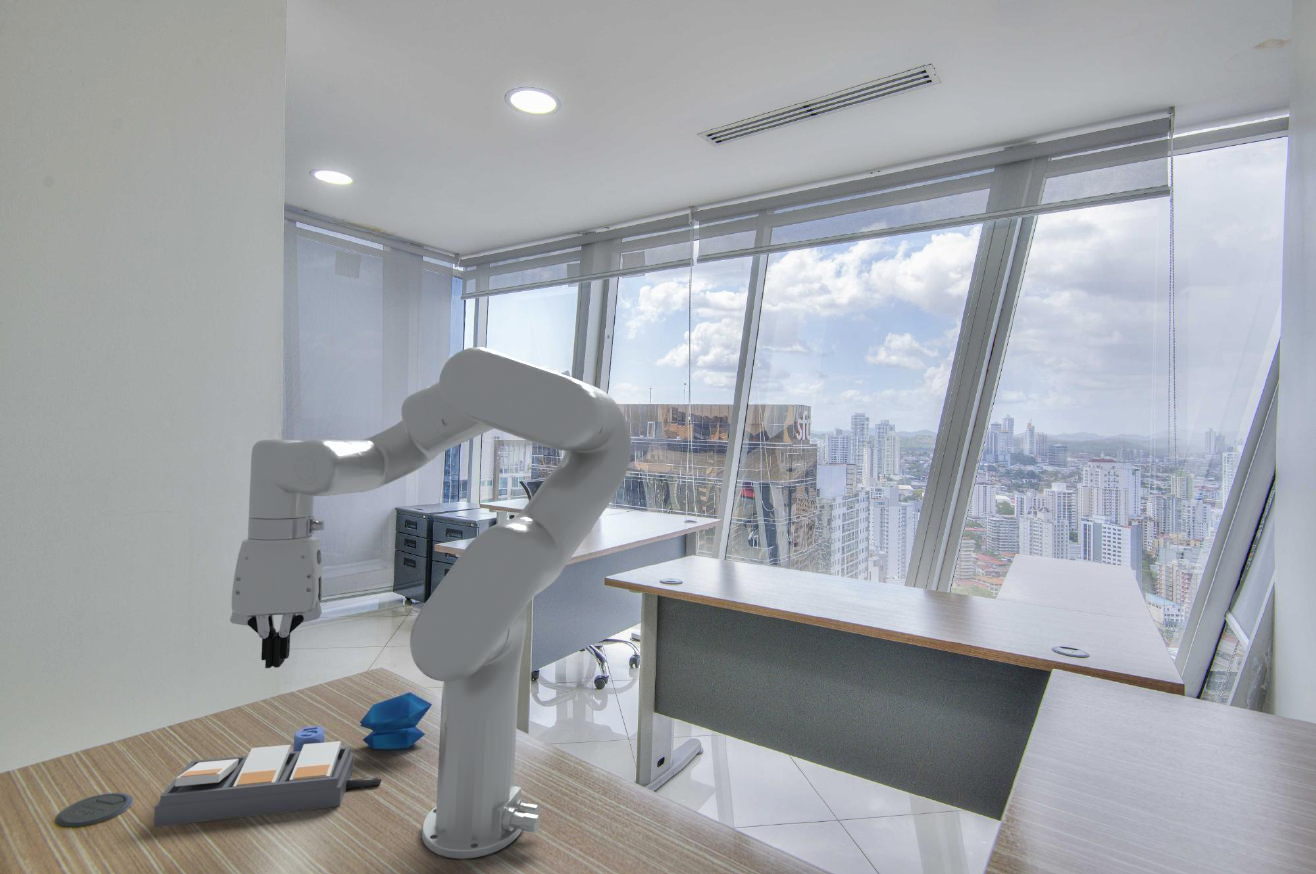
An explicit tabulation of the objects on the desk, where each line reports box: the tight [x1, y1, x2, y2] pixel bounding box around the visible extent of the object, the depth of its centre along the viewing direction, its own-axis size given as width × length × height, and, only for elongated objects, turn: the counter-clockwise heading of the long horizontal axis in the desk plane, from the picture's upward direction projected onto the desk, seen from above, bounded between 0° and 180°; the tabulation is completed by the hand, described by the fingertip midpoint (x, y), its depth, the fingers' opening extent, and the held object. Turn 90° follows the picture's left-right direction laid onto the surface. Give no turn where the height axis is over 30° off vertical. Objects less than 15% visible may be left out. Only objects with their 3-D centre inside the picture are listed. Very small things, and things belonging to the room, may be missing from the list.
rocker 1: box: [175, 759, 239, 786], centre depth 82 cm, size 5×7×1 cm
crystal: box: [359, 691, 433, 751], centre depth 99 cm, size 7×9×12 cm
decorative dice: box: [292, 725, 325, 752], centre depth 95 cm, size 4×4×4 cm
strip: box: [153, 746, 382, 828], centre depth 84 cm, size 26×9×4 cm, turn 106°
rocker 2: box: [289, 740, 342, 781], centre depth 86 cm, size 5×7×1 cm
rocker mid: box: [233, 744, 292, 787], centre depth 84 cm, size 5×7×1 cm
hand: (275, 664), depth 84 cm, fingers closed
